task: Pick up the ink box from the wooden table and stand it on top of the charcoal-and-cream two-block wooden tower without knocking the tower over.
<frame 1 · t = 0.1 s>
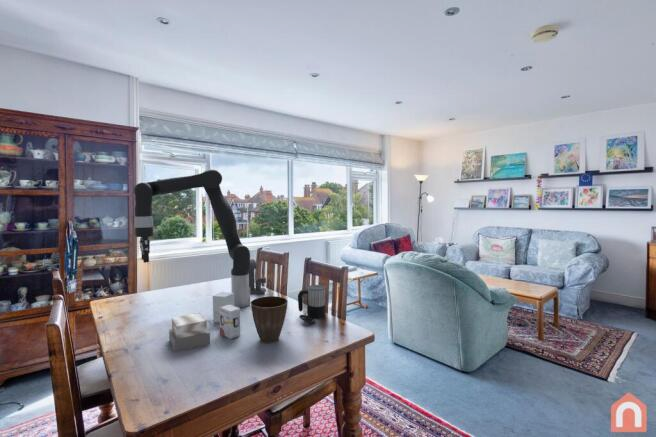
hand: (145, 260, 155), 29 cm above the table, tool pointing down, fingers open, 8 cm apart
ink box: (230, 335, 142), on the table
tower base block: (189, 343, 135), on the table, touching tower top block
supplement box: (224, 320, 160), on the table
tower top block: (189, 331, 134), point 5 cm above the table, touching tower base block
faucet: (252, 291, 210), on the table
plant pot: (269, 340, 137), on the table
milk frother: (313, 319, 160), on the table
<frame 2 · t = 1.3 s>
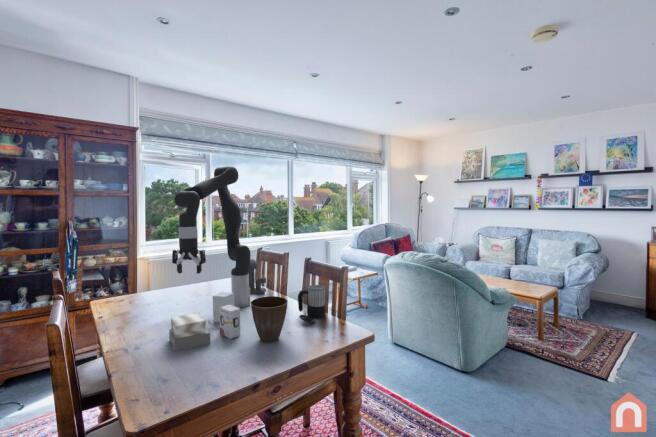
hand: (189, 273, 147), 25 cm above the table, tool pointing down, fingers open, 8 cm apart
nothing on the table moved.
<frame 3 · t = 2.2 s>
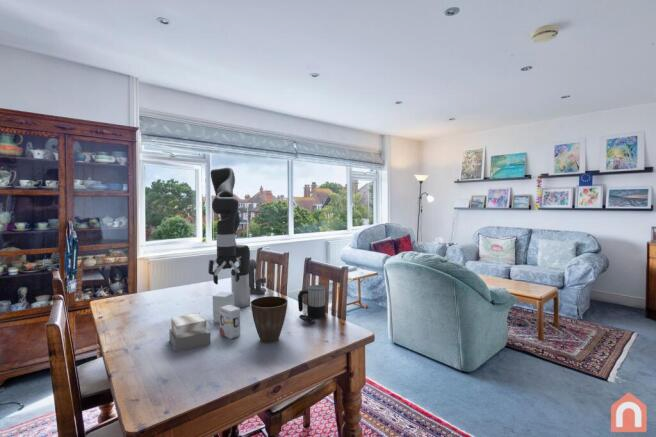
hand: (226, 282, 141), 23 cm above the table, tool pointing down, fingers open, 8 cm apart
nothing on the table moved.
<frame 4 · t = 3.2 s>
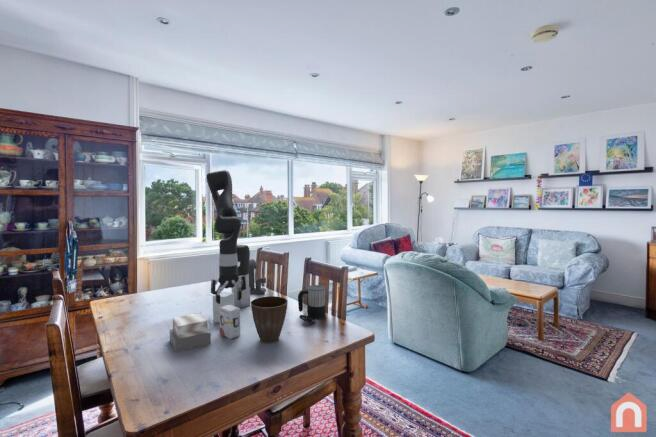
hand: (228, 301, 141), 14 cm above the table, tool pointing down, fingers open, 8 cm apart
nothing on the table moved.
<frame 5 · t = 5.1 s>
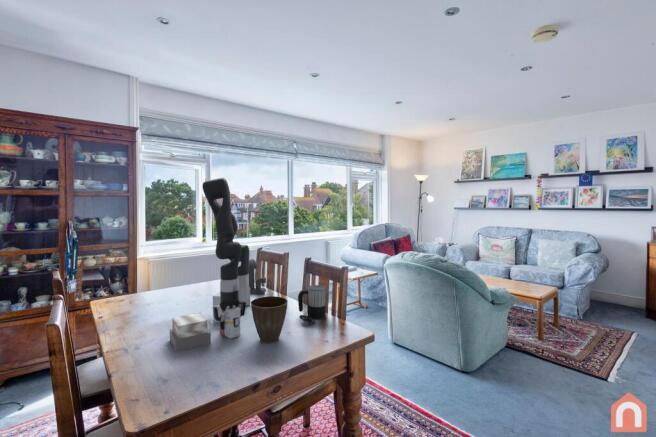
hand: (230, 327, 142), 3 cm above the table, tool pointing down, fingers closed on ink box, 5 cm apart
ink box: (230, 335, 142), on the table, touching gripper
everything else where it was.
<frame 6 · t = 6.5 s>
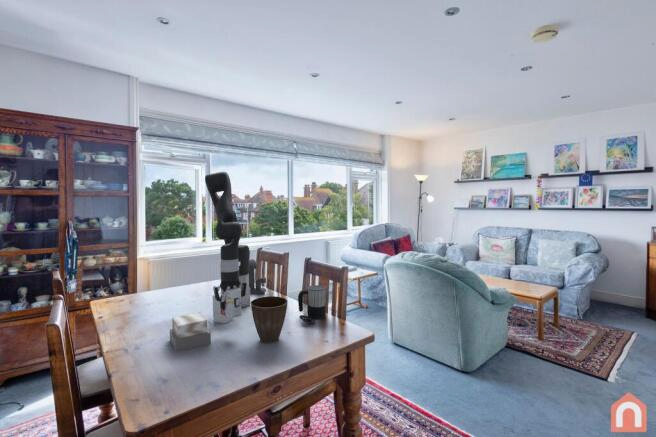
hand: (230, 308, 142), 11 cm above the table, tool pointing down, fingers closed on ink box, 5 cm apart
ink box: (231, 315, 142), point 8 cm above the table, touching gripper
everything else where it was.
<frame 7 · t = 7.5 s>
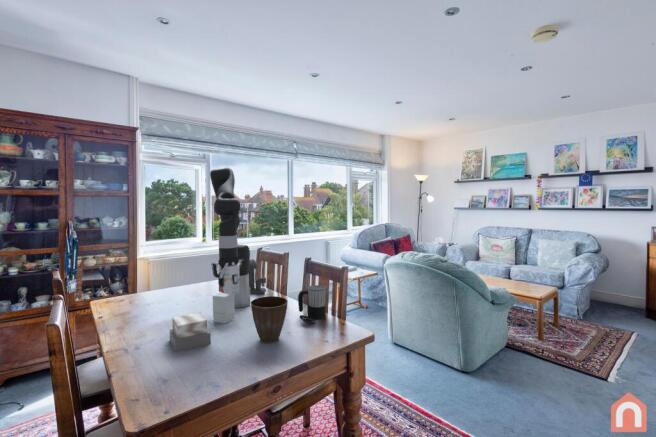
hand: (229, 285, 141), 21 cm above the table, tool pointing down, fingers closed on ink box, 5 cm apart
ink box: (229, 293, 141), point 18 cm above the table, touching gripper
everything else where it was.
when the fingers open (14 cm above the table, at t = 10.7 s): ink box drops 2 cm, resting on tower top block.
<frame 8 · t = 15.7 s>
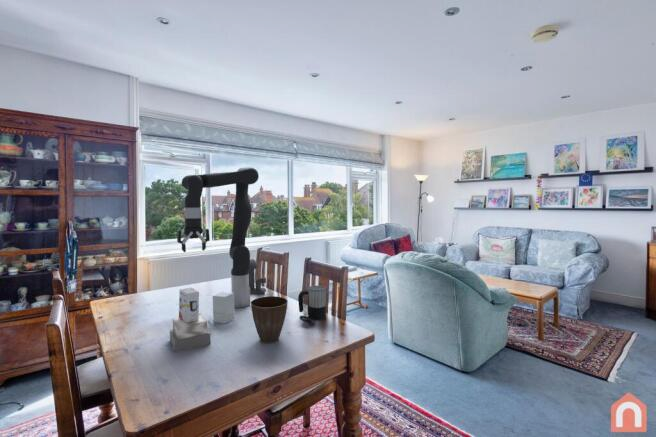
hand: (194, 251, 159), 33 cm above the table, tool pointing down, fingers open, 8 cm apart
ink box: (188, 319, 134), point 9 cm above the table, touching tower top block
tower top block: (190, 331, 134), point 4 cm above the table, touching ink box, tower base block
at the end: ink box 0.5 cm off-centre on the tower top block, point 4.8 cm above the tower top block's base; tower top block 0.5 cm off-centre on the tower base block, point 5.0 cm above the tower base block's base; ink box tilted 1° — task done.
